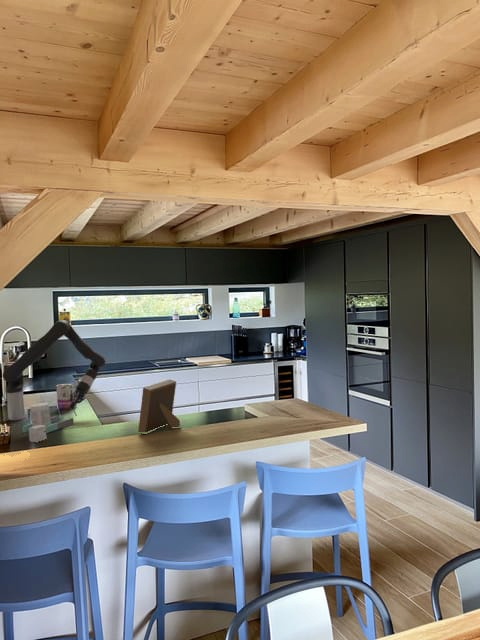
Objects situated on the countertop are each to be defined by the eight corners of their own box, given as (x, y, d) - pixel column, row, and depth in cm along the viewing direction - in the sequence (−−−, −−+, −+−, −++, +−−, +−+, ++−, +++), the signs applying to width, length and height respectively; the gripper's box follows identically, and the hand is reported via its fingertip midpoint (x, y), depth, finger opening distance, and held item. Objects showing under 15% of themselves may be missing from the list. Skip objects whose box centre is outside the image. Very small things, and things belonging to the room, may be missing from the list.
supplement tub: (51, 426, 273) (49, 401, 272) (51, 431, 264) (48, 405, 263) (33, 429, 270) (30, 404, 269) (32, 434, 261) (29, 407, 260)
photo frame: (138, 434, 245) (134, 386, 244) (164, 423, 264) (161, 378, 263) (160, 437, 238) (157, 388, 236) (186, 425, 257) (183, 380, 255)
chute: (23, 432, 266) (22, 426, 265) (56, 421, 285) (55, 415, 284) (40, 434, 258) (40, 428, 258) (73, 423, 277) (73, 417, 276)
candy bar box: (77, 407, 320) (74, 383, 319) (73, 409, 315) (71, 384, 314) (61, 407, 322) (59, 383, 321) (57, 409, 317) (55, 385, 316)
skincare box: (37, 442, 244) (35, 428, 243) (29, 441, 247) (28, 427, 246) (47, 439, 249) (45, 425, 249) (39, 438, 252) (38, 424, 252)
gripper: (74, 380, 295) (59, 404, 286) (88, 381, 289) (74, 406, 279) (81, 387, 300) (67, 410, 290) (96, 388, 293) (82, 412, 284)
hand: (70, 408), depth 285 cm, fingers closed
